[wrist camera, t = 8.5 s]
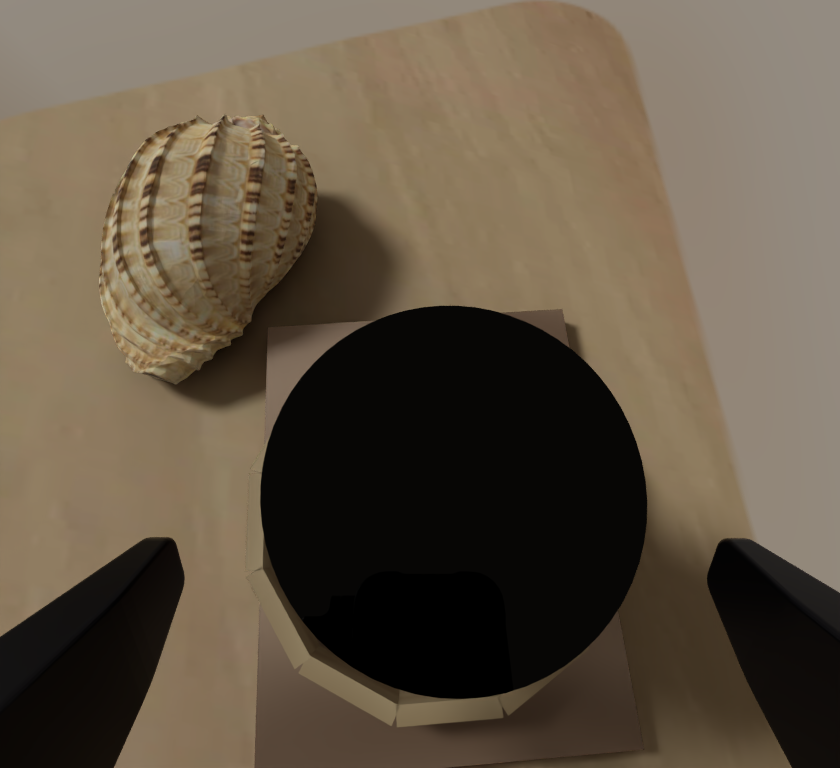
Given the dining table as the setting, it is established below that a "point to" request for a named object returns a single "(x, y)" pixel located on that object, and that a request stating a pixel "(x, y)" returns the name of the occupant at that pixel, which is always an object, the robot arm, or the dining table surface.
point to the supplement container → (453, 502)
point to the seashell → (201, 239)
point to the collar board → (392, 708)
